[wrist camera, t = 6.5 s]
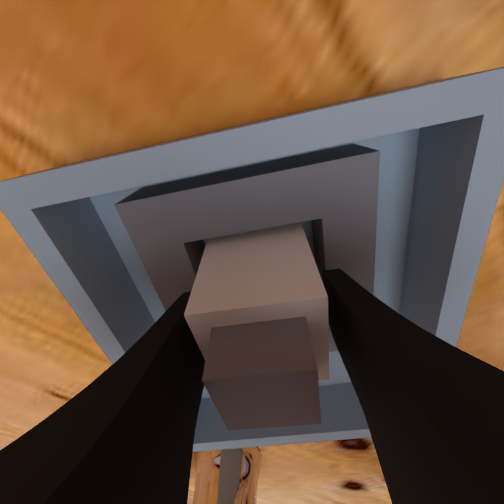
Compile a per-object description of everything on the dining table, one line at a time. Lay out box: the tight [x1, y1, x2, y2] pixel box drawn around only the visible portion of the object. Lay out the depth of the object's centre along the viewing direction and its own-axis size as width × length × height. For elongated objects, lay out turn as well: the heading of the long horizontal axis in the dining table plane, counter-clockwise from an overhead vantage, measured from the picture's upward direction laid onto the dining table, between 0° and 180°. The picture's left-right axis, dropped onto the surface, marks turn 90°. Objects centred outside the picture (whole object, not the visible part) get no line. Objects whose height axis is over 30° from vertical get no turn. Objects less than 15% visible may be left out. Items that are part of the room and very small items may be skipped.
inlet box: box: [0, 67, 504, 452], centre depth 13 cm, size 18×16×4 cm
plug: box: [184, 222, 329, 431], centre depth 9 cm, size 4×4×7 cm
